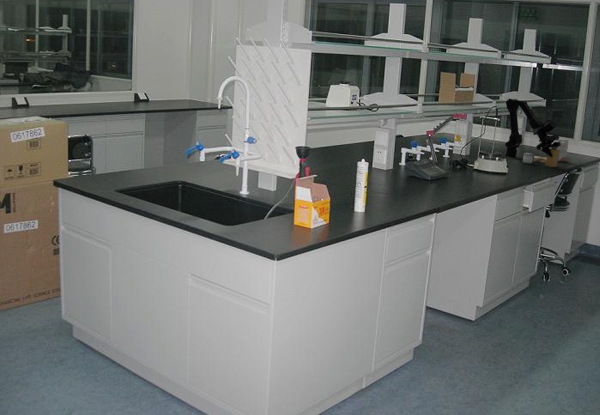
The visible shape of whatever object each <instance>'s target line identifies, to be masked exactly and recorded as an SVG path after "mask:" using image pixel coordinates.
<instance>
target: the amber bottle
mask: <svg viewBox="0 0 600 415" xmlns="http://www.w3.org/2000/svg"><path fill="white" fill-rule="evenodd" d="M550 151H551V153H552V156H553V157H550V156H549V155H547V154H546V158H547V159H546V163H544V164H545V166H546V167H550V168H557V166H558V162H559V161H558V156H559V151H560V150H557V147H552V149H550Z"/></svg>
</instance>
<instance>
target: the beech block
mask: <svg viewBox="0 0 600 415" xmlns="http://www.w3.org/2000/svg"><path fill="white" fill-rule="evenodd" d="M546 159H547V156H545V157H544V156H538V155H537V156H536V155H533V160H532V162H535V163H542V164H546Z"/></svg>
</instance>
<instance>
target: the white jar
mask: <svg viewBox="0 0 600 415" xmlns="http://www.w3.org/2000/svg"><path fill="white" fill-rule="evenodd" d="M534 156H535V154H534V153H531V152H523V157H522V163H524V164H525V163H526V164H533V160H534Z"/></svg>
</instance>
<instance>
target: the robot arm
mask: <svg viewBox="0 0 600 415" xmlns="http://www.w3.org/2000/svg"><path fill="white" fill-rule="evenodd" d="M505 104H506V109H507V111H508V112H509V123H510V124H509V125H510V135H509V137H508V138H509V139H508V140H507V141H506V142H505V147H506V152H505V156H506V157H512V158H515V157H517V154H518V148H520V146H521V145H522V142H523V135H522V134H520V132H519V122H518V121H519V120H518V110H519V108H520V109H521V110H522V112H523V113H524V115H525V116H526V118H527V120H528V124H529V126H530V128H531V129H532V130H534V132H533V136H537V137H538V139H539V140H538V142H539V143H537V145H536V150H537V151H541V152H543V153H544V154H546V156H547V155H549V156H550V157H553V156H552V153H551V151H550V149H552V147H559V146H560V145H561V144H560V142H558V140H560V135H559V134H558V133H556V134H553V135H548V133H551V132H552V131H553V130H554V129H556V128H557V125H556V123H555V122H554V121H553V120H551V119H548V120H546V121H545V122H543V120H541V119H540V118H538V117H537V116H536V115H535V113H534V112H533V110H532V109H531V108H530V106H529V104H528V102H527V101H526V100H519V99H517V98H507V100H506V101H505Z"/></svg>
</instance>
